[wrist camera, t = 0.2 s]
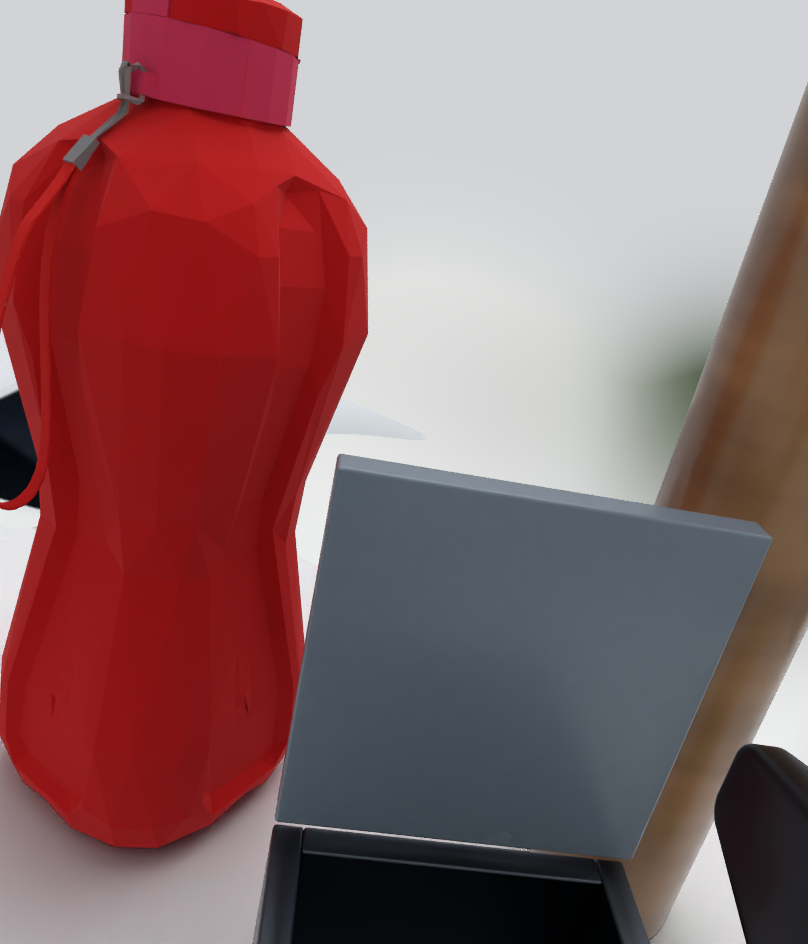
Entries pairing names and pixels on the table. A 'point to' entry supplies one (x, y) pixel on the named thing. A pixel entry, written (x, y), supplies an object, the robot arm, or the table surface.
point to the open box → (437, 893)
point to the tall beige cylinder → (742, 517)
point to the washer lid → (505, 658)
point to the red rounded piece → (171, 420)
